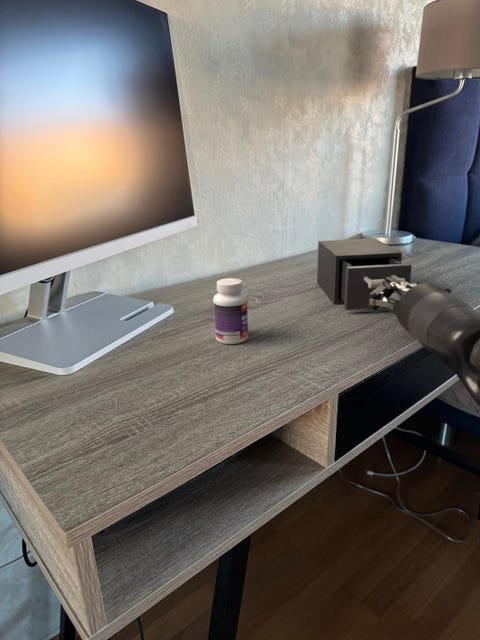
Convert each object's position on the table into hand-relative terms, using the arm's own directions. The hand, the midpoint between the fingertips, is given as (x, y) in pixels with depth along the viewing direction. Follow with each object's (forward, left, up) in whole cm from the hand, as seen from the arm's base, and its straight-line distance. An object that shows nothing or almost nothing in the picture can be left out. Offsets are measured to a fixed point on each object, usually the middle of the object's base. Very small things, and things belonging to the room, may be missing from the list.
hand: (388, 282), depth 75 cm
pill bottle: (+26, +9, -7) cm, 28 cm away
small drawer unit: (+4, -17, -7) cm, 19 cm away
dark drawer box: (+2, -9, -6) cm, 11 cm away
